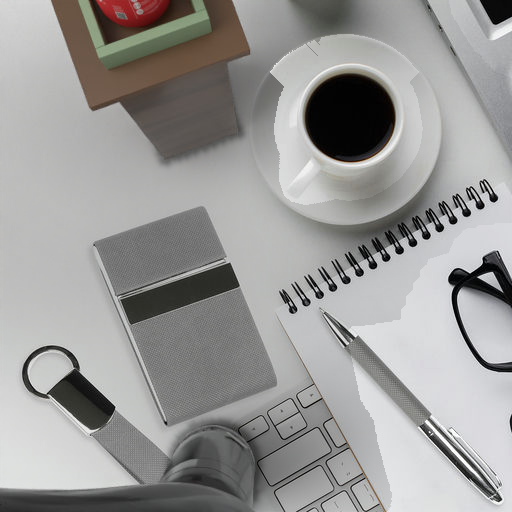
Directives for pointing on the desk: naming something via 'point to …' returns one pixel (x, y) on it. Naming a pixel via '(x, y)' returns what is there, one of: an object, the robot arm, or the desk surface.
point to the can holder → (147, 46)
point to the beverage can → (133, 11)
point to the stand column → (186, 112)
